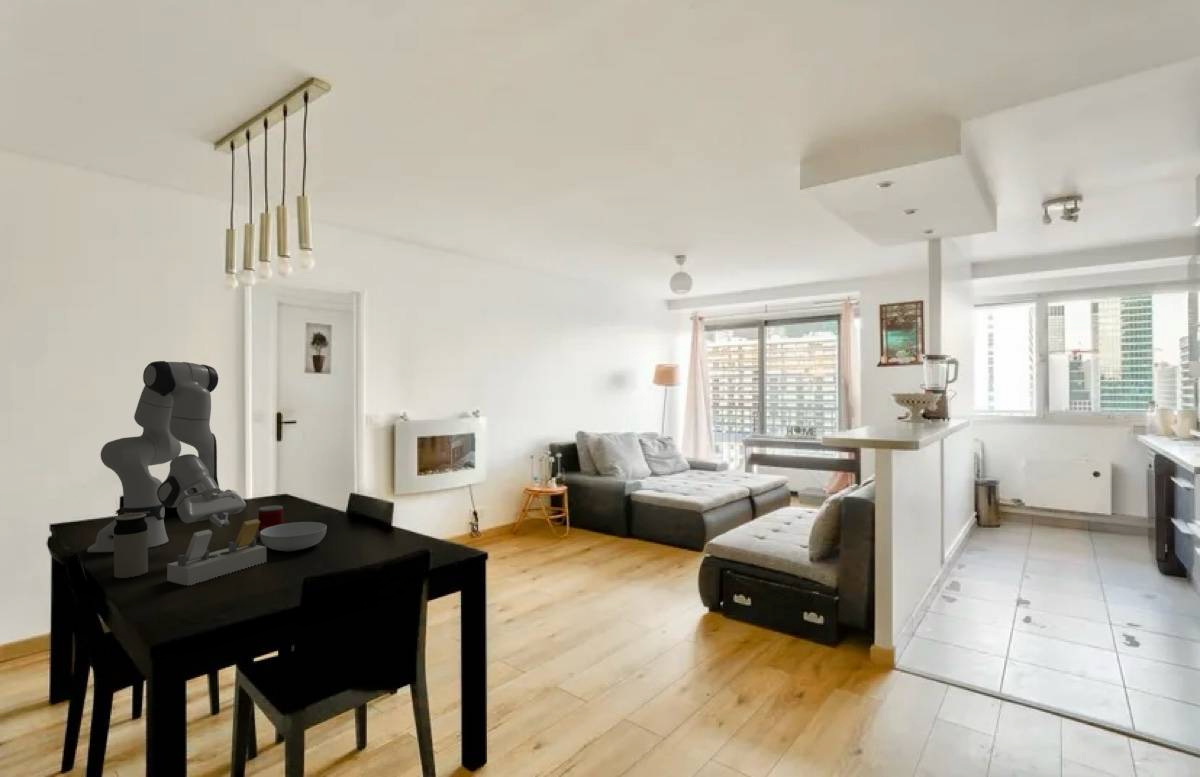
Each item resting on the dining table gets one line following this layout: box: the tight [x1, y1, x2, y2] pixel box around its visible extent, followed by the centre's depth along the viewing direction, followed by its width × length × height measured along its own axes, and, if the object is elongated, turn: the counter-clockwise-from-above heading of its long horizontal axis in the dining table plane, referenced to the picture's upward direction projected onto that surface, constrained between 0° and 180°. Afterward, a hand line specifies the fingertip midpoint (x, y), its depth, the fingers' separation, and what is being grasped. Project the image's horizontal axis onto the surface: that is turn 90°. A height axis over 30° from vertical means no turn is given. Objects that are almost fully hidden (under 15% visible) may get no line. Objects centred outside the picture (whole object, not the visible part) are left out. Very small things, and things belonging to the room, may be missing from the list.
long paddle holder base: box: [166, 536, 267, 587], centre depth 180 cm, size 10×24×8 cm, turn 156°
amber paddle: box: [235, 518, 260, 548], centre depth 186 cm, size 2×5×10 cm
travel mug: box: [113, 513, 149, 579], centre depth 177 cm, size 8×8×18 cm
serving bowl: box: [259, 521, 328, 552], centre depth 206 cm, size 21×21×7 cm
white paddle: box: [185, 529, 213, 562], centre depth 173 cm, size 2×5×10 cm
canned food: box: [258, 504, 284, 538], centre depth 221 cm, size 8×8×11 cm
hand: (224, 525), depth 192 cm, fingers closed
